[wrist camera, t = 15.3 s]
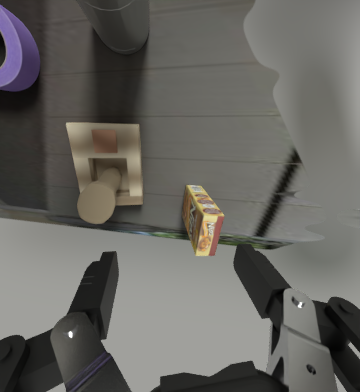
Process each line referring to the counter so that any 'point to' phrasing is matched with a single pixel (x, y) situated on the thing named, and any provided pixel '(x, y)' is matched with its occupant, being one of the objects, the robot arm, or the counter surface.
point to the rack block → (108, 156)
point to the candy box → (201, 220)
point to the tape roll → (17, 54)
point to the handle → (100, 197)
